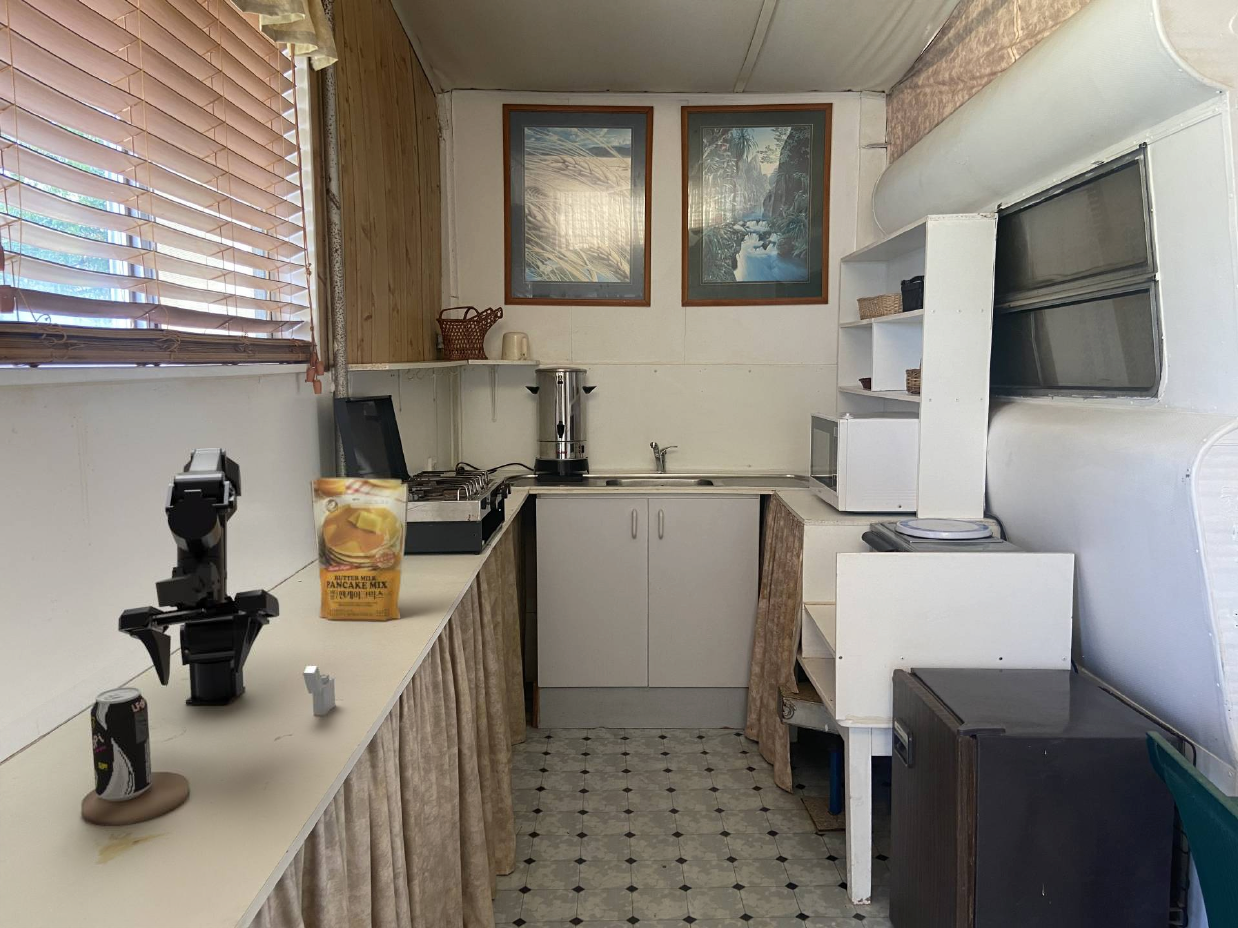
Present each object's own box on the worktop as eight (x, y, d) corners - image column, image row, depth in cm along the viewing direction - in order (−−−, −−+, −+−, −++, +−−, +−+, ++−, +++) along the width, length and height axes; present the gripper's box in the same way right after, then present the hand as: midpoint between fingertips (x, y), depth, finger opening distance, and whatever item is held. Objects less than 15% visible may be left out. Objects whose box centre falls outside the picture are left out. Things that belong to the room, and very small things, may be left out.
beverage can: (89, 793, 105) (82, 693, 103) (142, 777, 109) (136, 680, 107) (105, 810, 101) (98, 706, 99) (159, 792, 105) (154, 693, 103)
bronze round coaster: (60, 824, 99) (59, 816, 99) (116, 779, 110) (116, 771, 110) (159, 825, 99) (158, 817, 99) (206, 779, 110) (205, 772, 110)
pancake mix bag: (321, 611, 185) (316, 475, 182) (413, 613, 184) (409, 476, 180) (308, 620, 178) (302, 480, 175) (403, 622, 177) (399, 481, 174)
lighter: (324, 704, 135) (322, 652, 134) (335, 704, 134) (333, 652, 134) (304, 723, 128) (302, 668, 127) (316, 723, 127) (314, 668, 127)
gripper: (97, 558, 113) (93, 683, 108) (249, 535, 115) (252, 658, 109) (140, 578, 124) (138, 693, 118) (278, 557, 125) (282, 670, 120)
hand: (201, 679), depth 116 cm, fingers open, 9 cm apart
